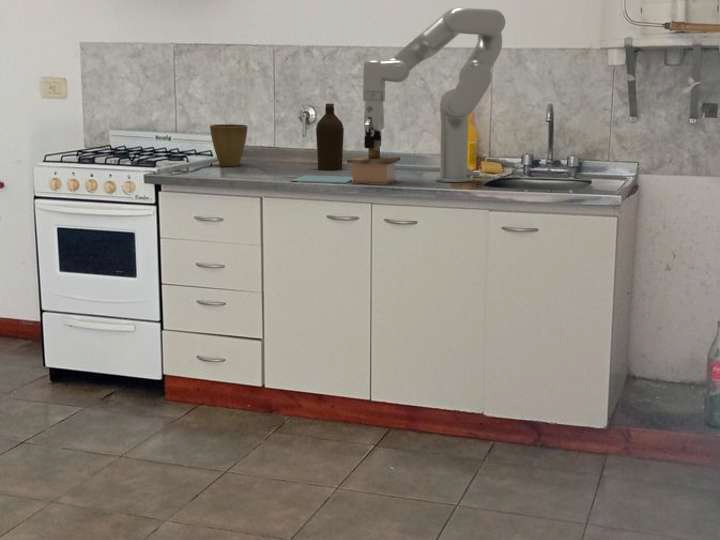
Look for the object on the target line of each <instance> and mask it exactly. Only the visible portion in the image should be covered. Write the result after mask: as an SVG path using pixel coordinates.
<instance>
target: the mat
mask: <svg viewBox="0 0 720 540" xmlns="http://www.w3.org/2000/svg"><path fill="white" fill-rule="evenodd" d="M352 180H353V176H336V175H331V176H329V175H303V176H300V177H297V178H294V179H292V180H290V182H291V181H297V182H296V183H311V182H316V184H341V183H346V184H349V183H351V182H353V181H352ZM350 181H351V182H350ZM348 182H349V183H348Z"/></svg>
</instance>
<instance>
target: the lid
mask: <svg viewBox="0 0 720 540" xmlns="http://www.w3.org/2000/svg"><path fill="white" fill-rule="evenodd" d="M367 150H368V152H367V153H368V155H358V156H355V157H352V158H348V159H347V160H346V162H347V164H353V163H355V164H392V163H395V164H396V163H397V162H399V161H401V157H400V156H388V155H387V156H381V146H380V141H378V140H374V148H367Z"/></svg>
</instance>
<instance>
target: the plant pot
mask: <svg viewBox="0 0 720 540" xmlns="http://www.w3.org/2000/svg"><path fill="white" fill-rule="evenodd" d="M248 128H249V126H248V125H246V124H236V123H235V124H234V123H233V124H232V123H231V124H229V123H228V124H227V123H226V124H225V123H224V124H223V123H222V124H219V123H218V124H210V125H209V130H210V137H211V141H212V146H213V150H214V152H215V156H216V159H217V161H218V164H219V166H220V165H221V166H220V167H225V166H230V167H232V166H233V167H238V166H240V164H241V160H242V156H243V153H244V150H245V146H246V141H247V136H248Z"/></svg>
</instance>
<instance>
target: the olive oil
mask: <svg viewBox="0 0 720 540" xmlns="http://www.w3.org/2000/svg"><path fill="white" fill-rule="evenodd" d="M324 110H325V114H324V115H323V116H322V117H321V118H320V119H319V120H318V122H317V124H316V127H315V134H316V136H315V138H316V152H317V153H316V154H317V169H318V170H320V171H338V170H339V171H340V170H341V171H342V169H343V156H344V155H343V153H344V151H343V150H344V131H345V128H344V124H343V122H342V121H341V119H339V117H337V115H336V114H335V104H334V103H325V109H324Z"/></svg>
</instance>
